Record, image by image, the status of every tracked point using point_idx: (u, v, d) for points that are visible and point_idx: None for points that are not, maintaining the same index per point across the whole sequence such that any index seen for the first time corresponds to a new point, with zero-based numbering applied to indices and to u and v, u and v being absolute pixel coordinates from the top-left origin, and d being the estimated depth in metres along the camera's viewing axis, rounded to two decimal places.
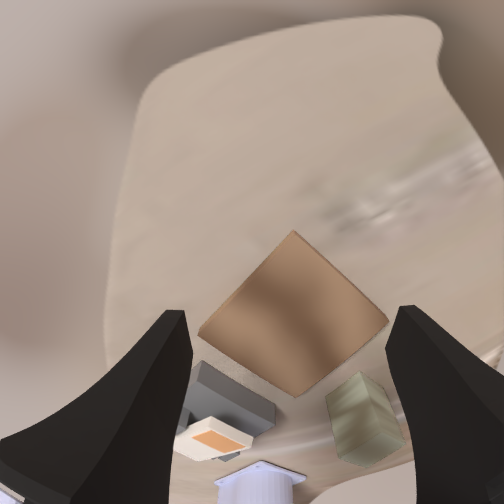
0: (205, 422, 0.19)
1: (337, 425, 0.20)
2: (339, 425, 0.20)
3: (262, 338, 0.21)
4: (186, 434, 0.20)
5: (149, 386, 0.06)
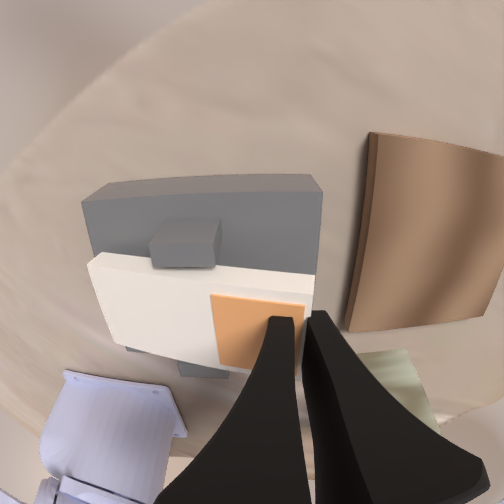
0: (294, 280, 0.09)
1: None
2: None
3: (426, 221, 0.12)
4: (204, 280, 0.09)
5: None
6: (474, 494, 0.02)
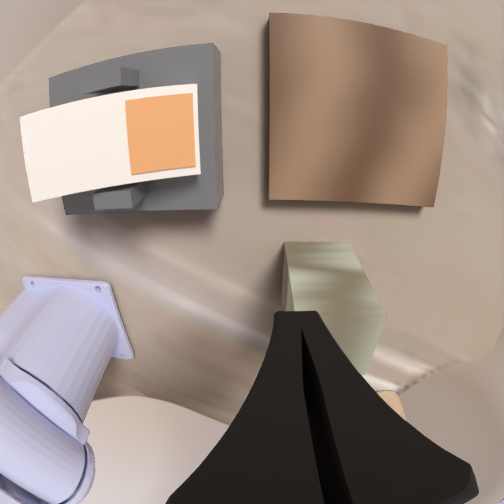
0: None
1: (300, 277, 0.14)
2: (304, 278, 0.14)
3: (329, 80, 0.12)
4: (120, 92, 0.10)
5: None
6: (460, 501, 0.02)
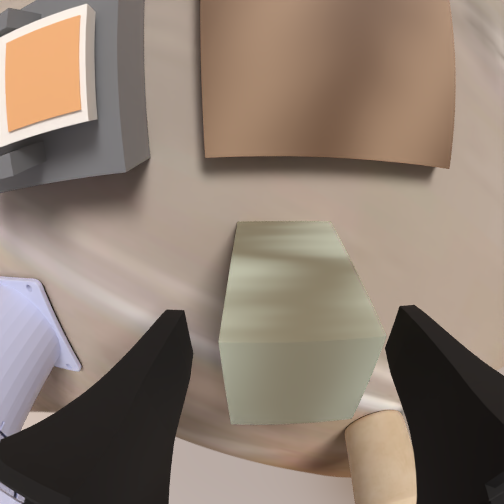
0: None
1: (247, 269, 0.09)
2: (253, 271, 0.09)
3: None
4: (4, 36, 0.05)
5: (149, 386, 0.06)
6: None
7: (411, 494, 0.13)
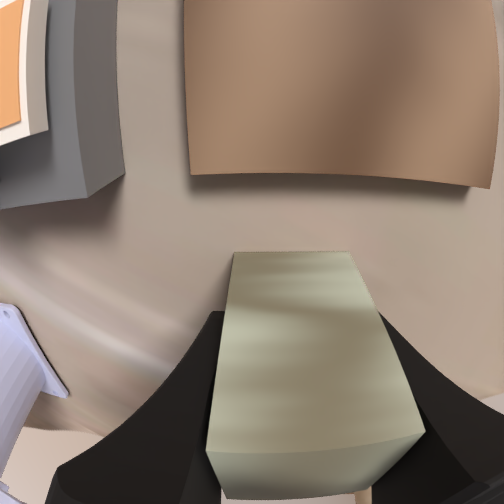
0: None
1: (245, 330, 0.07)
2: (253, 334, 0.07)
3: None
4: None
5: (212, 392, 0.06)
6: None
7: None
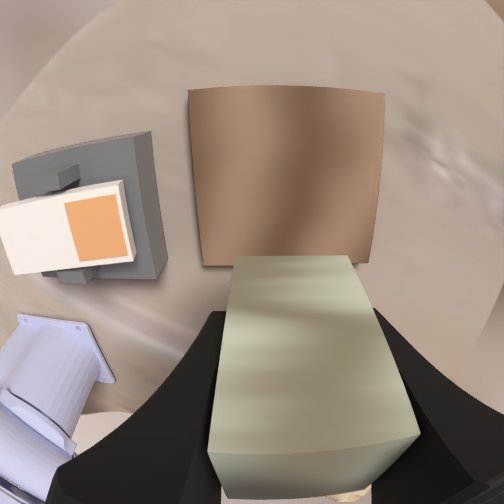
0: (109, 183, 0.13)
1: (245, 334, 0.07)
2: (253, 338, 0.07)
3: (249, 155, 0.15)
4: (59, 195, 0.12)
5: (212, 392, 0.06)
6: None
7: None
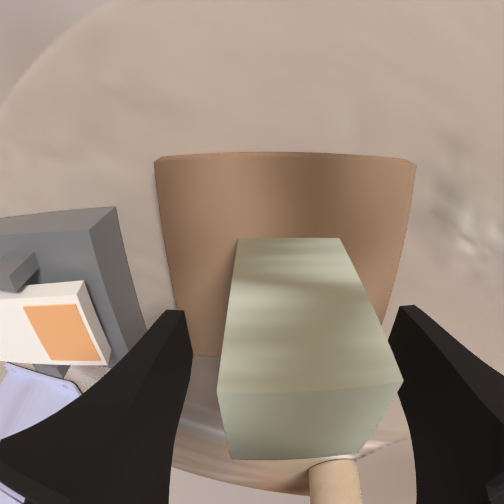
0: (68, 287, 0.10)
1: (248, 298, 0.08)
2: (255, 301, 0.08)
3: (236, 247, 0.12)
4: (17, 297, 0.09)
5: (149, 386, 0.06)
6: None
7: None
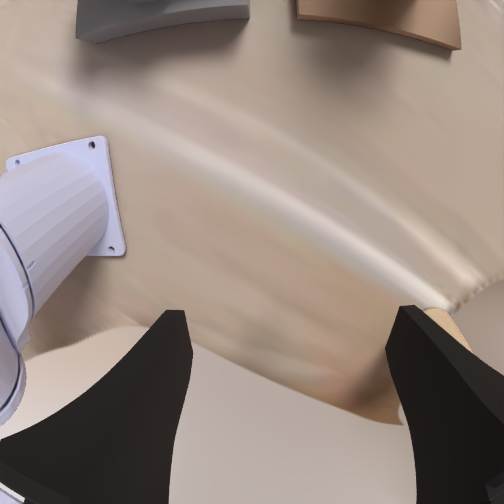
0: None
1: None
2: None
3: None
4: None
5: (149, 386, 0.06)
6: None
7: None
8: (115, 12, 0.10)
